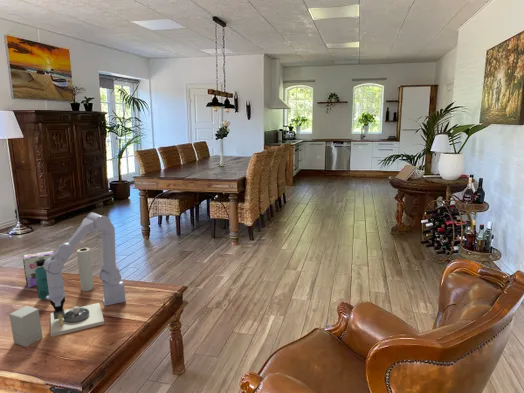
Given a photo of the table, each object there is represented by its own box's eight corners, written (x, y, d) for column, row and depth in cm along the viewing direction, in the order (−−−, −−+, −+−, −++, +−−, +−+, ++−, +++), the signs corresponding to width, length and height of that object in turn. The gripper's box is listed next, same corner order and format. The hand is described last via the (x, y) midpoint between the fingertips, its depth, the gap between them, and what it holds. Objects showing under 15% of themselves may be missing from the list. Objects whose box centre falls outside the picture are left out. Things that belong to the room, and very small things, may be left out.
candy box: (26, 288, 195) (22, 258, 192) (27, 283, 200) (23, 254, 197) (56, 282, 201) (53, 253, 198) (56, 278, 206) (53, 250, 203)
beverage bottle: (35, 301, 182) (29, 262, 178) (47, 295, 188) (42, 257, 184) (44, 303, 180) (39, 264, 175) (57, 297, 186) (52, 259, 181)
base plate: (99, 305, 178) (98, 292, 176) (104, 324, 162) (102, 310, 161) (51, 316, 168) (49, 302, 167) (51, 336, 153) (49, 322, 152)
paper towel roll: (88, 292, 191) (84, 252, 186) (78, 290, 193) (73, 250, 188) (98, 286, 198) (94, 247, 193) (88, 284, 199) (84, 246, 195)
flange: (88, 308, 172) (87, 300, 171) (89, 319, 163) (89, 310, 162) (54, 315, 166) (53, 306, 165) (54, 326, 157) (53, 317, 156)
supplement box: (43, 337, 153) (39, 308, 150) (25, 347, 146) (21, 317, 143) (31, 333, 156) (26, 305, 153) (13, 342, 149) (8, 313, 146)
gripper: (44, 280, 165) (48, 309, 168) (45, 294, 152) (49, 324, 155) (63, 277, 168) (66, 305, 171) (64, 290, 156) (68, 320, 159)
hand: (59, 314), depth 164 cm, fingers closed
